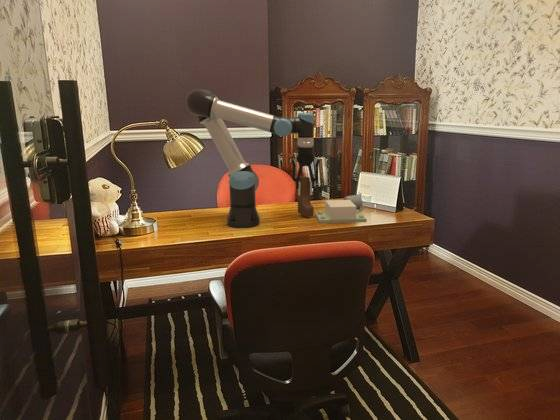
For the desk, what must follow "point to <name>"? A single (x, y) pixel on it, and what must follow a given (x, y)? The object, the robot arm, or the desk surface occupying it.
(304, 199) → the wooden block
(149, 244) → the desk surface
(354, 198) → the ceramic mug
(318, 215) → the tower base
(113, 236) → the desk surface
